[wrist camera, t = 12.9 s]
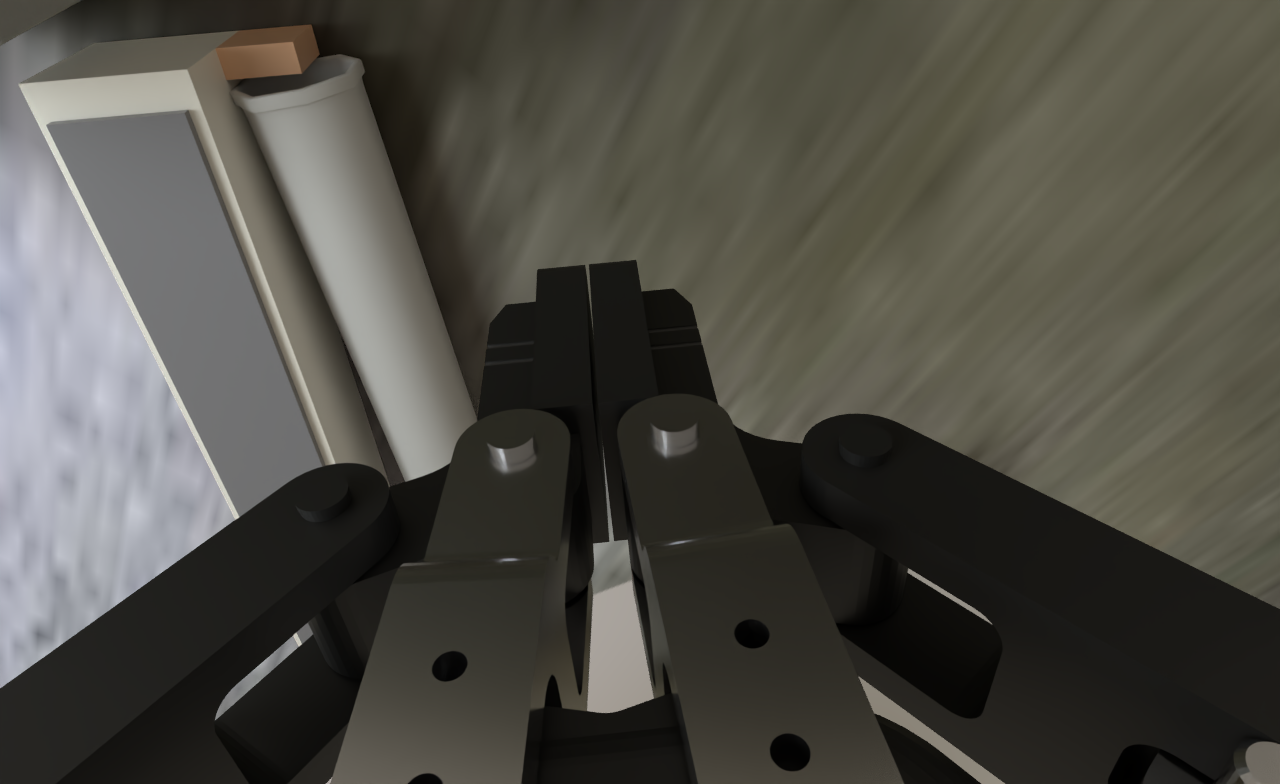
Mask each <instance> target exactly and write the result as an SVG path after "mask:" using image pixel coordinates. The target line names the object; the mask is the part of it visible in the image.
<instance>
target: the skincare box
mask: <svg viewBox="0 0 1280 784" xmlns="http://www.w3.org/2000/svg"><path fill="white" fill-rule="evenodd" d="M80 1H82V0H0V46H1V45H3V44H4V43H6V42H8V41H9V40H11V39H13V38H15V37H17V36H18V35H20V34H22V33H24V32H25V31H27V30H29V29H31V28H33V27H34V26H36V25H38V24H40V23H42V22H44V21H45V20H47V19H49V18H51V17H53V16H55V15H56V14H58V13H60V12H62V11H63V10H65V9H67V8H69V7H70V6H72V5H74V4H76V3H78V2H80Z"/></svg>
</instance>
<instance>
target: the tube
mask: <svg viewBox="0 0 1280 784" xmlns="http://www.w3.org/2000/svg"><path fill="white" fill-rule="evenodd" d="M364 73H365V70H364V67H363V64H362V60H360V59H358V58H354V57H350V56H346V55H342V54H338V55H332V56H327V57H321V58H316V59H315V60H314V61H313V62H312V63H311V64H310V66H309V67H308V68H307V69H306V70H305V71H304V72H303V73H302V74H291V75H280V76H268V77H257V78H245V79H243V80H242V81H241V82H240V83H239V84H238V85H237V86H236V87H234V88H233V89H232V90H231V92H230V95H231V97H232V99H233V102H234V104H235V105H237V106H239V107H241V108H242V109H243V111H244V113H245V114H246V116H247V119H248V121H249V123H250V125H251V128H252V130H253V132H254V135H255V137H256V139H257V142H258V144H259V146H260V148H261V151H262V153H263V155H264V158H265V160H266V162H267V165H268V167H269V169H270V171H271V174H272V176H273V178H274V181H275V183H276V185H277V188H278V190H279V192H280V195H281V197H282V199H283V201H284V204H285V206H286V208H287V211H288V213H289V215H290V218H291V220H292V222H293V224H294V227H295V229H296V231H297V234H298V236H299V238H300V241H301V243H302V245H303V247H304V250H305V252H306V254H307V257H308V259H309V261H310V264H311V266H312V268H313V270H314V273H315V275H316V277H317V280H318V282H319V284H320V287H321V289H322V291H323V294H324V296H325V298H326V300H327V303H328V305H329V307H330V310H331V312H332V314H333V317H334V319H335V321H336V323H337V326H338V328H339V330H340V333H341V335H342V337H343V340H344V342H345V344H346V346H347V349H348V351H349V353H350V356H351V358H352V360H353V363H354V365H355V367H356V369H357V372H358V374H359V376H360V379H361V381H362V383H363V386H364V388H365V390H366V393H367V395H368V397H369V399H370V402H371V404H372V406H373V409H374V411H375V413H376V416H377V418H378V420H379V422H380V425H381V427H382V429H383V432H384V434H385V436H386V439H387V441H388V443H389V445H390V448H391V450H392V452H393V455H394V457H395V459H396V462H397V464H398V466H399V468H400V471H401V473H402V475H403V478H404V480H405V482H406V481H409V480H412V479H416V478H419V477H422V476H424V475H427V474H430V473H432V472H434V471H436V470H438V469H440V468H443V467H444V466H446V465H447V464H449V463H451V459H452V455H453V452H454V448H455V445H456V443H457V441H458V439H459V438H460V436H461V435H462V434H463V433H464V431H465V430H466V429H467V428H469V427H470V426H471V425H473V424H474V423H476V422H477V417H476V414H475V411H474V408H473V406H472V403H471V400H470V397H469V394H468V391H467V388H466V385H465V382H464V379H463V376H462V373H461V370H460V367H459V364H458V361H457V358H456V355H455V353H454V350H453V347H452V344H451V341H450V338H449V335H448V332H447V329H446V326H445V323H444V320H443V317H442V314H441V311H440V308H439V305H438V302H437V300H436V297H435V294H434V291H433V288H432V285H431V282H430V279H429V276H428V273H427V270H426V267H425V264H424V261H423V258H422V255H421V252H420V249H419V247H418V244H417V241H416V238H415V235H414V232H413V229H412V226H411V223H410V220H409V217H408V214H407V211H406V208H405V205H404V202H403V199H402V196H401V194H400V191H399V188H398V185H397V182H396V179H395V176H394V173H393V170H392V167H391V164H390V161H389V158H388V155H387V152H386V149H385V146H384V143H383V141H382V138H381V135H380V132H379V129H378V126H377V123H376V120H375V117H374V114H373V111H372V108H371V105H370V102H369V99H368V96H367V93H366V90H365V88H364V84H363V80H362V76H363V74H364Z"/></svg>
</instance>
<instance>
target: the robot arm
mask: <svg viewBox="0 0 1280 784" xmlns="http://www.w3.org/2000/svg"><path fill="white" fill-rule="evenodd" d="M589 271H590V287H591V302H592V318H593V327H592V318H591V310H590V301H589V292H588V284H587V275H586V268H585V265H579V266H569V267H558V268H547V269H538V270H537V288H536V302H529V303H518V304H508V305H505V307H504V308H503V309H502V310H501V311H500V313H499V314H498V315H497V316H496V317H495V319H494V320H493V321H492V322H491V323H490V327H489V334H488V342H487V347H488V349H487V350H486V358H485V366H484V373H483V381H482V388H481V396H480V404H479V412H478V419H477V422H476V423H474V424H473V425H471V426H470V427H469V428H467V429H466V430H465V431H464V433H463V434H462V435H461V436H460V438H459V439H458V441H457V443H456V445H455V448H454V452H453V455H452V459H451V463H449V464H447V465H446V466H444V467H443V468H440V469H438V470H436V471H434V472H432V473H430V474H427V475H424V476H422V477H419V478H416V479H412V480H409V481H406V482H403V483H400V484H397V485H394V486H391V487H389V485H388V482H387V480H386V479H385V477H384V476H383V475H382V474H381V473H380V472H379V471H378V470H376V469H374V468H372V467H370V466H367V465H363V464H358V463H337V464H331V465H326V466H323V467H319V468H316V469H313V470H310V471H308V472H305V473H303V474H301V475H299V476H297V477H296V478H294V479H292V480H291V481H289V482H288V483H286V484H285V485H283V486H282V487H281V488H279V489H278V490H276V491H275V492H274V493H272V494H271V495H270V496H268V497H267V498H265V499H264V500H263V501H261V502H260V503H258V504H257V505H256V506H254V507H253V508H251V509H250V510H249V511H247V512H246V513H244V514H243V515H242V516H240V517H239V518H237V519H236V520H235V521H233V522H232V523H230V524H229V525H228V526H226V527H225V528H223V529H222V530H221V531H219V532H218V533H217V534H215V535H214V536H212V537H211V538H210V539H208V540H207V541H205V542H204V543H203V544H201V545H200V546H198V547H197V548H196V549H194V550H193V551H191V552H190V553H189V554H187V555H186V556H184V557H183V558H182V559H180V560H179V561H177V562H176V563H175V564H173V565H172V566H170V567H169V568H168V569H166V570H165V571H164V572H162V573H161V574H159V575H158V576H157V577H155V578H154V579H152V580H151V581H150V582H148V583H147V584H145V585H144V586H143V587H141V588H140V589H138V590H137V591H136V592H134V593H133V594H131V595H130V596H129V597H127V598H126V599H124V600H123V601H122V602H120V603H119V604H117V605H116V606H115V607H113V608H112V609H111V610H109V611H108V612H106V613H105V614H104V615H102V616H101V617H99V618H98V619H97V620H95V621H94V622H92V623H91V624H90V625H88V626H87V627H85V628H84V629H83V630H81V631H80V632H78V633H77V634H76V635H74V636H73V637H71V638H70V639H69V640H67V641H66V642H65V643H63V644H62V645H60V646H59V647H58V648H56V649H55V650H53V651H52V652H51V653H49V654H48V655H46V656H45V657H44V658H42V659H41V660H39V661H38V662H37V663H35V664H34V665H32V666H31V667H30V668H28V669H27V670H25V671H24V672H23V673H21V674H20V675H18V676H17V677H16V678H14V679H13V680H12V681H10V682H9V683H7V684H6V685H5V686H3V687H2V688H0V784H326V783H327V782H328V781H329V779H331V777H332V780H331V783H330V784H981V783H980V782H978V781H977V780H976V779H975V778H973V777H972V776H971V775H969V774H968V773H967V772H966V771H964V770H963V769H962V768H961V767H959V766H958V765H957V764H956V763H954V762H953V761H952V760H950V759H949V758H948V757H947V756H945V755H944V754H943V753H942V752H940V751H939V750H938V749H936V748H935V747H934V746H932V745H931V744H929V743H928V742H927V741H925V740H924V739H922V738H920V737H919V736H917V735H915V734H914V733H912V732H911V731H909V730H908V729H906V728H904V727H902V726H900V725H898V724H896V723H894V722H892V721H890V720H888V719H886V718H884V717H882V716H880V715H877V714H874V712H873V710H872V708H871V705H870V703H869V701H868V698H867V696H866V693H865V691H864V689H863V686H862V684H861V682H860V679H859V677H861V678H862V679H863V680H865V681H866V682H867V683H869V684H870V685H872V686H873V687H874V688H876V689H877V690H878V691H880V692H881V693H883V694H884V695H885V696H887V697H888V698H889V699H891V700H892V701H893V702H895V703H896V704H897V705H899V706H900V707H902V708H903V709H904V710H906V711H907V712H909V713H910V714H911V715H913V716H914V717H915V718H917V719H918V720H919V721H921V722H922V723H923V724H925V725H926V726H927V727H929V728H930V729H932V730H933V731H934V732H936V733H937V734H938V735H940V736H941V737H943V738H944V739H945V740H947V741H948V742H950V743H951V744H952V745H954V746H955V747H956V748H958V749H959V750H960V751H962V752H963V753H964V754H966V755H967V756H969V757H970V758H971V759H973V760H974V761H975V762H977V763H978V764H979V765H981V766H982V767H984V768H985V769H986V770H988V771H989V772H990V773H992V774H993V775H994V776H996V777H997V778H998V779H1000V780H1001V781H1003V782H1004V783H1005V784H1280V609H1278V608H1276V607H1274V606H1272V605H1270V604H1268V603H1266V602H1264V601H1262V600H1260V599H1258V598H1256V597H1254V596H1252V595H1250V594H1248V593H1245V592H1243V591H1241V590H1239V589H1237V588H1235V587H1233V586H1231V585H1229V584H1227V583H1225V582H1223V581H1221V580H1219V579H1217V578H1215V577H1213V576H1211V575H1209V574H1207V573H1205V572H1202V571H1200V570H1198V569H1196V568H1194V567H1192V566H1190V565H1188V564H1186V563H1184V562H1182V561H1180V560H1178V559H1176V558H1174V557H1172V556H1170V555H1168V554H1166V553H1164V552H1162V551H1160V550H1157V549H1155V548H1153V547H1151V546H1149V545H1147V544H1145V543H1143V542H1141V541H1139V540H1137V539H1135V538H1133V537H1131V536H1129V535H1127V534H1125V533H1123V532H1121V531H1119V530H1117V529H1115V528H1112V527H1110V526H1108V525H1106V524H1104V523H1102V522H1100V521H1098V520H1096V519H1094V518H1092V517H1090V516H1088V515H1086V514H1084V513H1082V512H1080V511H1078V510H1076V509H1074V508H1072V507H1070V506H1067V505H1065V504H1063V503H1061V502H1059V501H1057V500H1055V499H1053V498H1051V497H1049V496H1047V495H1045V494H1043V493H1041V492H1039V491H1037V490H1035V489H1033V488H1031V487H1029V486H1027V485H1025V484H1022V483H1020V482H1018V481H1016V480H1014V479H1012V478H1010V477H1008V476H1006V475H1004V474H1002V473H1000V472H998V471H996V470H994V469H992V468H990V467H988V466H986V465H984V464H982V463H979V462H977V461H975V460H973V459H971V458H969V457H967V456H965V455H963V454H961V453H959V452H957V451H955V450H953V449H951V448H949V447H947V446H945V445H943V444H941V443H939V442H937V441H934V440H932V439H930V438H928V437H926V436H924V435H922V434H920V433H918V432H916V431H914V430H912V429H910V428H908V427H906V426H904V425H902V424H900V423H897V422H895V421H893V420H890V419H887V418H884V417H880V416H875V415H869V414H845V415H838V416H834V417H830V418H828V419H825V420H823V421H821V422H819V423H818V424H816V425H815V426H813V427H812V428H811V429H810V430H809V431H808V433H807V434H806V435H805V437H804V440H803V443H802V444H801V443H793V442H785V441H777V440H771V439H765V438H761V437H758V436H754V435H752V434H749V433H747V432H745V431H743V430H741V429H739V428H737V427H736V426H735V425H733V423H732V420H731V418H730V416H729V415H728V413H727V412H726V411H725V410H724V409H723V408H722V407H721V406H719V405H718V403H717V399H716V395H715V391H714V388H713V384H712V380H711V376H710V372H709V368H708V365H707V361H706V357H705V353H704V349H703V345H702V344H701V338H700V334H699V330H698V328H697V322H696V319H695V315H694V311H693V307H692V304H691V303H689V302H688V301H687V300H686V299H685V298H684V297H683V296H682V295H680V294H679V293H678V292H677V291H676V290H675V289H664V290H653V291H643V292H641V286H640V280H639V274H638V268H637V262H636V260H631V261H620V262H609V263H599V264H589ZM593 333H594V336H593ZM602 441H603V442H602ZM603 450H604V457H603ZM604 458H605V467H606V475H607V484H608V492H609V501H610V509H611V518H612V526H613V535H614V541H618V540H628V545H629V555H630V563H631V573H632V583H633V591H634V596H635V602H636V607H637V612H638V617H639V623H640V628H641V633H642V638H643V644H644V649H645V654H646V660H647V665H648V670H649V675H650V680H651V686H652V690H653V696H654V699H652V700H649V701H646V702H644V703H641V704H638V705H636V706H632V707H630V708H627V709H624V710H621V711H618V712H613V713H596V712H589V711H587V700H588V681H589V662H590V643H591V642H590V641H591V622H592V604H593V587H592V581H591V577H592V574H593V570H594V553H593V543H602V542H609V531H608V516H607V501H606V486H605V472H604ZM908 568H909V569H911V570H912V571H914V572H916V573H918V574H919V575H921V576H922V577H924V578H926V579H927V580H929V581H931V582H932V583H934V584H936V585H937V586H939V587H941V588H942V589H944V590H945V591H947V592H949V593H950V594H952V595H954V596H955V597H957V598H958V599H960V600H962V601H963V602H965V603H967V604H968V605H970V606H972V607H973V608H975V609H976V610H978V611H979V612H981V613H982V614H983V615H984V616H986V618H987V619H988V620H989V621H990V622H991V623H992V624H993V625H992V624H990V623H988V622H987V621H985V620H984V619H982V618H980V617H979V616H977V615H975V614H974V613H972V612H970V611H969V610H967V609H966V608H964V607H962V606H961V605H959V604H957V603H956V602H954V601H952V600H951V599H949V598H948V597H946V596H944V595H943V594H941V593H939V592H938V591H936V590H935V589H933V588H931V587H930V586H928V585H926V584H925V583H923V582H922V581H920V580H918V579H917V578H915V577H913V576H912V575H910V574H908V573H907V571H908ZM307 623H308V624H309V627H310V629H311V631H312V633H313V635H312V636H311V637H310V638H308V639H307V640H306V641H305V642H304V643H303V644H302V645H300V646H299V647H298V648H297V649H296V650H295V651H294V652H293V653H291V654H290V655H289V656H288V657H287V658H286V659H285V660H283V661H282V662H281V663H280V664H279V665H278V666H277V667H276V668H274V669H273V670H272V671H271V672H270V673H269V674H268V675H267V676H265V677H264V678H263V679H262V680H261V681H260V682H259V683H257V684H256V685H255V686H254V687H253V688H252V689H251V690H250V691H248V692H247V693H246V694H245V695H244V696H243V697H242V698H240V699H239V700H238V701H237V702H236V703H235V704H234V705H233V706H231V707H230V708H229V709H228V710H227V711H226V712H225V713H223V714H222V715H221V716H220V717H219V718H218V719H217V720H215V717H216V713H217V711H218V708H219V706H220V704H221V702H222V701H223V699H224V698H225V696H226V695H227V694H228V693H229V692H230V690H231V689H232V688H233V687H234V686H235V685H236V684H238V683H239V682H240V681H241V680H242V679H243V678H245V677H246V676H247V675H248V674H249V673H250V672H251V671H253V670H254V669H255V668H256V667H257V666H258V665H260V664H261V663H262V662H263V661H264V660H265V659H266V658H268V657H269V656H270V655H271V654H272V653H273V652H274V651H276V650H277V649H278V648H279V647H280V646H281V645H283V644H284V643H285V642H286V641H287V640H288V639H289V638H291V637H292V636H293V635H294V634H295V633H296V632H298V631H299V630H300V629H301V628H302V627H303V626H304V625H306V624H307ZM858 676H859V677H858Z"/></svg>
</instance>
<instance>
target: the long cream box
mask: <svg viewBox="0 0 1280 784" xmlns="http://www.w3.org/2000/svg"><path fill="white" fill-rule="evenodd" d="M319 55H320V53H319V50H318V46H317V43H316V39H315V36H314V32H313V29H312V25H311V24H310V25H299V26H287V27H275V28H264V29H252V30H240V31H228V32H217V33H205V34H193V35H182V36H170V37H158V38H147V39H135V40H123V41H111V42H100V43H93V44H92V45H90V46H88V47H86V48H84V49H82V50H80V51H79V52H77V53H75V54H73V55H71V56H69V57H67V58H66V59H64V60H62V61H60V62H58V63H56V64H54V65H53V66H51V67H49V68H47V69H45V70H43V71H41V72H40V73H38V74H36V75H34V76H32V77H30V78H28V79H27V80H25V81H23V82H21V83H19V84H18V85H19V87H20V89H21V91H22V93H23V95H24V97H25V99H26V101H27V103H28V105H29V107H30V109H31V111H32V113H33V115H34V117H35V119H36V121H37V123H38V125H39V127H40V129H41V131H42V133H43V135H44V137H45V139H46V141H47V143H48V145H49V147H50V149H51V151H52V153H53V155H54V157H55V159H56V161H57V163H58V165H59V167H60V169H61V171H62V173H63V175H64V177H65V179H66V181H67V183H68V185H69V187H70V189H71V191H72V193H73V195H74V197H75V199H76V201H77V203H78V205H79V207H80V209H81V211H82V213H83V215H84V217H85V219H86V221H87V223H88V225H89V227H90V229H91V231H92V233H93V235H94V237H95V239H96V241H97V243H98V245H99V247H100V249H101V251H102V253H103V255H104V257H105V259H106V261H107V263H108V265H109V267H110V269H111V271H112V273H113V275H114V277H115V279H116V281H117V283H118V285H119V287H120V289H121V291H122V293H123V295H124V297H125V299H126V301H127V303H128V305H129V307H130V309H131V311H132V313H133V315H134V317H135V319H136V321H137V323H138V325H139V327H140V329H141V331H142V333H143V335H144V337H145V339H146V341H147V343H148V345H149V347H150V349H151V351H152V353H153V355H154V357H155V359H156V361H157V363H158V365H159V367H160V369H161V371H162V373H163V375H164V377H165V379H166V381H167V383H168V385H169V387H170V389H171V391H172V393H173V395H174V397H175V399H176V401H177V403H178V405H179V407H180V409H181V411H182V413H183V415H184V417H185V419H186V421H187V423H188V425H189V427H190V429H191V431H192V433H193V435H194V437H195V439H196V441H197V443H198V445H199V447H200V449H201V451H202V453H203V455H204V457H205V459H206V461H207V463H208V465H209V467H210V469H211V471H212V473H213V475H214V477H215V479H216V481H217V483H218V485H219V487H220V489H221V491H222V494H223V496H224V498H225V500H226V502H227V504H228V506H229V508H230V510H231V512H232V514H233V516H234V518H235V520H236V519H237V518H239V517H240V516H242V515H243V514H244V513H246V512H247V511H249V510H250V509H251V508H253V507H254V506H256V505H257V504H258V503H260V502H261V501H263V500H264V499H265V498H267V497H268V496H270V495H271V494H272V493H274V492H275V491H276V490H278V489H279V488H281V487H282V486H283V485H285V484H286V483H288V482H289V481H291V480H292V479H294V478H296V477H297V476H299V475H301V474H303V473H305V472H308V471H310V470H313V469H316V468H319V467H323V466H326V465H331V464H337V463H358V464H363V465H367V466H370V467H372V468H374V469H376V470H378V471H379V472H380V473H381V474H382V475H383V476H384V477H385V479H386V480H387V482H388V485H389V487H390V484H389V481H388V478H387V475H386V472H385V469H384V466H383V463H382V460H381V457H380V454H379V451H378V448H377V445H376V442H375V439H374V436H373V433H372V430H371V427H370V424H369V421H368V418H367V415H366V412H365V409H364V406H363V403H362V400H361V397H360V394H359V391H358V388H357V385H356V382H355V379H354V376H353V372H352V369H351V366H350V363H349V360H348V357H347V354H346V351H345V348H344V345H343V342H342V339H341V336H340V333H339V330H338V327H337V324H336V321H335V319H334V317H333V314H332V312H331V310H330V307H329V305H328V303H327V300H326V298H325V296H324V294H323V291H322V289H321V287H320V284H319V282H318V280H317V277H316V275H315V273H314V270H313V268H312V266H311V264H310V261H309V259H308V257H307V254H306V252H305V250H304V247H303V245H302V243H301V241H300V238H299V236H298V234H297V231H296V229H295V227H294V224H293V222H292V220H291V218H290V215H289V213H288V211H287V208H286V206H285V204H284V201H283V199H282V197H281V195H280V192H279V190H278V188H277V185H276V183H275V181H274V178H273V176H272V174H271V171H270V169H269V167H268V165H267V162H266V160H265V158H264V155H263V153H262V151H261V148H260V146H259V144H258V142H257V139H256V137H255V135H254V132H253V130H252V128H251V125H250V123H249V121H248V119H247V116H246V114H245V113H244V111H243V109H242V108H241V107H239V106H237V105H235V104H234V102H233V99H232V97H231V95H230V92H231V90H232V89H233V88H234V87H236V86H237V85H238V84H239V83H240V82H241V81H242V80H243V79H245V78H257V77H268V76H280V75H291V74H302V73H303V72H304V71H305V70H306V69H307V68H308V67H309V66H310V64H311V63H312V62H313V61H314V60H315V59H316V58H317V57H318V56H319ZM312 635H313V633H312V631H311V629H310V627H309V624H308V623H307V624H306V625H304V626H303V627H302V628H301V629H300V630H299V631H298V632H296V633H295V634H294V635H293V636H294V638H295V640H296V642H297V644H298V646H300V645H302V644H303V643H304V642H305V641H306V640H307V639H308V638H310V637H311V636H312Z"/></svg>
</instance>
